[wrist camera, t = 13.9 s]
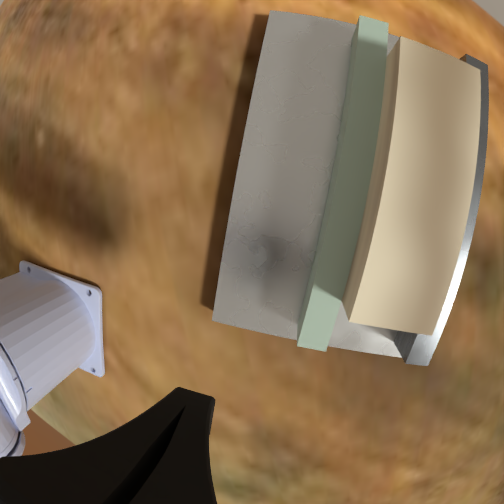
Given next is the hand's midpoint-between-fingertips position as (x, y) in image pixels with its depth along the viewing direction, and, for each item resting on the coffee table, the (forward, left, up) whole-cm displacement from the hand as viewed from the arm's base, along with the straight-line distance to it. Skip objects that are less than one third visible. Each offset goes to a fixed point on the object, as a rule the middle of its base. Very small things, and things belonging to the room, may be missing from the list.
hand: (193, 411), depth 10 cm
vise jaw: (+4, +9, -8) cm, 13 cm away
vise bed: (+5, +9, -9) cm, 14 cm away
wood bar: (+7, +9, -8) cm, 14 cm away
